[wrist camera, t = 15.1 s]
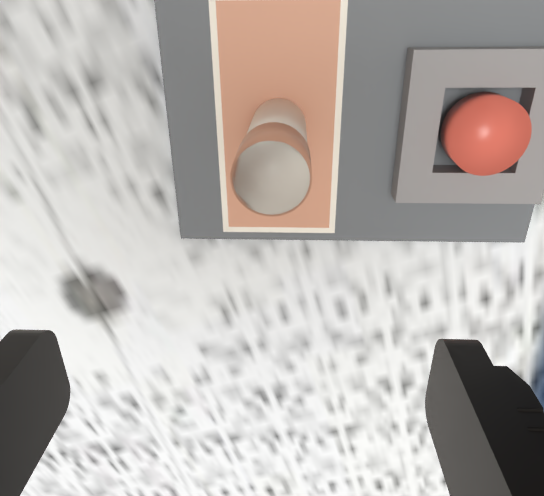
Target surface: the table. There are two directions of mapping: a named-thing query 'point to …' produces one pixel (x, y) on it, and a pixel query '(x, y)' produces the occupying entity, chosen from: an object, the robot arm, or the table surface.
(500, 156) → the button
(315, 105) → the board
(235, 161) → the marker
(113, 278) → the table surface
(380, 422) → the table surface
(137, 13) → the table surface
